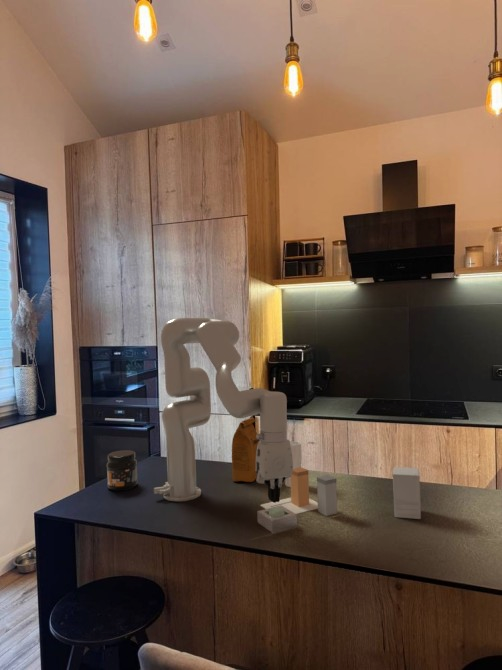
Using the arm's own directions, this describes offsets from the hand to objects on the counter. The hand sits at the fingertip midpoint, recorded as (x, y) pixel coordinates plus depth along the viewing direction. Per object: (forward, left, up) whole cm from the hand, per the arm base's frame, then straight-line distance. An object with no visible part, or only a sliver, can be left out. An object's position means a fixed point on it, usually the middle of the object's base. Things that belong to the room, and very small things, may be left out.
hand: (274, 500), depth 134 cm
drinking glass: (+22, +24, -7) cm, 34 cm away
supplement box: (+36, -15, -7) cm, 40 cm away
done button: (0, -1, -6) cm, 6 cm away
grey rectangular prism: (+17, -2, -7) cm, 19 cm away
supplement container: (-29, +58, -7) cm, 65 cm away
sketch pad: (+11, +8, -7) cm, 16 cm away
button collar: (0, -1, -7) cm, 7 cm away
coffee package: (+13, +40, -7) cm, 43 cm away
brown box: (+14, +8, -6) cm, 18 cm away
